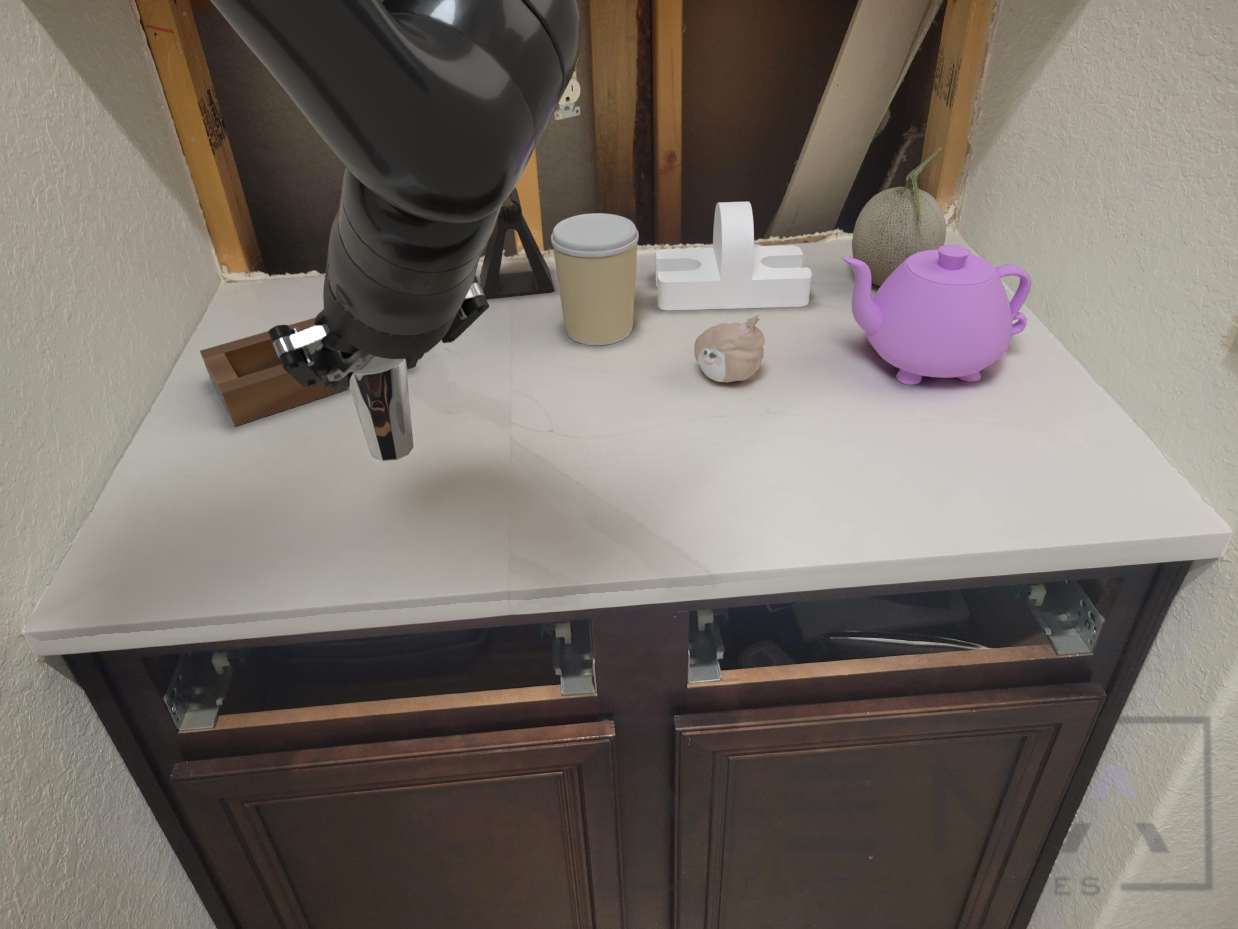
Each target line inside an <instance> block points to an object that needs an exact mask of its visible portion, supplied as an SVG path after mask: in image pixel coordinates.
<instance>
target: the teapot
mask: <svg viewBox="0 0 1238 929" xmlns="http://www.w3.org/2000/svg"><path fill="white" fill-rule="evenodd" d="M970 252H971V251H970V250H969V249H968V248H967V247H965V246H963V245H959V244H944V245H943V246H940V247H939V248H938V250H927V251H922V252H918V253H916V254H914V255H912V256H910V257H908V258H907V259H906V260H905V261H904V262H903V263H902V264H900V265H899V266H898V267H897V268H896V270H895V271H894V272H893V273H892V274H891V275H890V276H889V277H888V278H887V279H886V280H885V282H884V283H883V284H882V285H881V286H879V287H878V289H877V291H876V292H875V294H874V296H873V297H872V283H871V272H870V269H869V267H868V265H867V264H866V263H864V262H863V261H860V260H857V259H854V258H853V257H849V256H842V257H841V259H842V260H843V261H844V262H845V263H846V264H847V265H848V266H849V267H850V268H851V270H852V272H853V276H854V284H853V290H852V296H851V312H852V315H853V319H854V321H855V322H856V324H857V325H858V326H859V328H860V329H862V330H863V331H864V334H865V336H866V338H867V340H868V342H869V344H870V345H871V346H872V348H873V349H874V350H875V352H876V353H877V354H878V356H879V357H881V358H882V360H884V361H886V363H888V364H890V365H892V366H893V367H895V368H897V369H899V370H898V372H897V373H896V376H895V378H896V380H897V381H898V382H900V383H902V384H905V385H913V386H914V385H918V384H920V383H921V382H922V380H923V377H930V378H943V379H946V378H947V379H948V378H949V379H951V378H957V379H959V380H961V381H964V382H968V383H973V382H974V383H975V382H978V381H981V378H982V375H981V372H980V371H982V370H984V369H986V368H988V367H990V366H992V365H994V363H996V362H998V360H1000V359H1001V358H1003V356H1004V355H1005V354H1006V353H1007V351H1008V350H1009V347H1010V343H1011V340H1012V336H1014V335H1018V334H1020V333H1022V332H1023V331H1024V330H1025V329H1026V327H1027V323H1028V322H1027V320H1028V319H1027V316H1026V314H1024V313H1023V312H1020V310H1021V308H1022V307H1023V305H1024V303H1025V302H1026V300H1027V298H1028V296H1029V294H1030V291H1031V289H1032V278H1031V275H1030V273H1029V272H1028V271H1027V270H1026V269H1025V268H1023V267H1021V266H1019V265H1017V264H1012V263H1011V264H1009V263H1008V264H1002V265H998V266H994V265H993V264H992V263H991V262H989V261H988V260H987V259H986V258H983V257H981V256H979V255H976V254H974V253H970ZM1010 276H1014V277H1018V278H1019V284H1018V286H1017V289H1016V291H1015V293H1014V295H1013V296H1012V298H1011V300H1009V297H1008V294H1007V291H1006V289H1005V286H1004V284H1003V281H1002V278H1005V277H1010ZM1015 320H1017V321H1016V322H1015V323H1013V321H1015Z"/></svg>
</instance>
